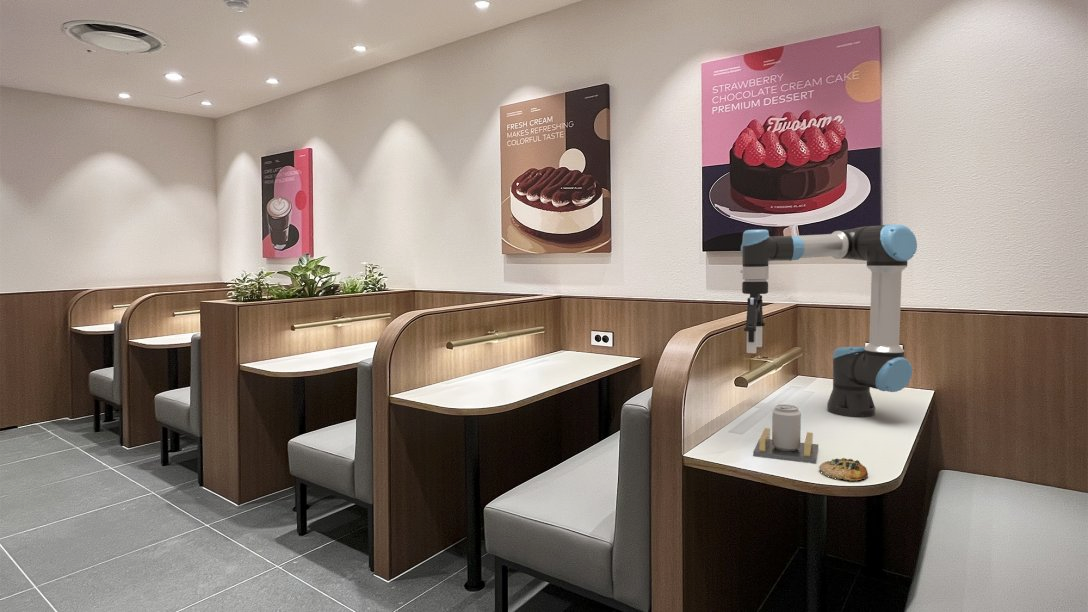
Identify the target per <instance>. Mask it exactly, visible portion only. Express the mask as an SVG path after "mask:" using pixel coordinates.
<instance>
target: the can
mask: <svg viewBox="0 0 1088 612" xmlns="http://www.w3.org/2000/svg"><path fill="white" fill-rule="evenodd" d="M771 415H772V416H771V417H772V418H771V419H772V422H771V423H772V425H771V426H772V428H771V431H772V432H771V433H772V434H771V437H772V438H771V439H772V445H773V446H774V447H775V448H776V449H778V450H782V451H796V450H797V449H798V448H800V443H801V436H802V435H801V430H802V428H801V427H802V424H801V423H802V412H800V410H799V407H798V406H796V405H793V404H776V405H774V409H773V410H772V414H771Z"/></svg>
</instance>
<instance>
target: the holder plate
mask: <svg viewBox="0 0 1088 612" xmlns="http://www.w3.org/2000/svg"><path fill="white" fill-rule="evenodd" d="M813 435H814V434H813V432H808V431H807V432H806V435H805V439H804V442H800V448H798V449H797V450H796V451H782V450H778V449H776V448H775V447H774V446H773V445H772V438H771V428H767V427H764V429H763V431H762V433H761V435H760V437H759V440H758V441H757V443H756V445H755V447H754V450H753V452H752V453H753V455H752V456H753V457H761V458H766V457H767V458H769V459H775V458H777V459H776V460H783V459H784V461H791V460H794V462H800V461H803V462H802V463H808V462H813V463H812V464H817V459H818V454H817V453H819V444H818V443H817V444H816V443H814V441H813V440H814V436H813ZM767 458H766V459H767Z"/></svg>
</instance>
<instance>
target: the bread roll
mask: <svg viewBox="0 0 1088 612" xmlns="http://www.w3.org/2000/svg"><path fill="white" fill-rule="evenodd" d="M818 469H819V471H820V470H821V472H822V474H821V475H823V474H824V475H823V476H825V475H826V476H825V477H827V476H829V477H828V478H830V477H832V478H831V479H833V478H836V479H835V480H837V479H843V480H842V481H847V480H849V481H848V482H852V481H857V482H859V481H858V480H862V479H864V480H865V479H867V478H868V476H869V472H868V469H867V467H865V465H863V464H862V463H861V461H860V460H857V459H856V460H854V459H853V458H848V459H847V458H845V457H843V458H835V459H834V458H832V459H831V460H827V461H824V462H822V463H821V464H820V465H818ZM862 481H863V480H862Z"/></svg>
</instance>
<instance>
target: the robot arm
mask: <svg viewBox="0 0 1088 612" xmlns="http://www.w3.org/2000/svg"><path fill="white" fill-rule="evenodd" d="M917 250H918V241H917V237H916V235H915V234H914V232H913V231H912V230H911V229H910V228H909V227H908V226H906V225H903V224H895V223H894V224H893V223H890V224H882V225H865V226H861V227H860V226H859V227H856V228H851V229H845V230H843V229H842V230H835V231H833V232H832V233H827V234H825V233H824V234H807V235H806V234H805V235H777V236H776V235H775V236H770V233H769V230H768V229H747V230H744V231H743V233H742V242H741V245H740V254H741V257H742V259H741V260H742V269H741V270H740V273H741V274H742V280H744V281H742V282H741V293H742V294H745V295H749V297H748V298H747V301H746V302H747V306H746V307H747V308H746V320H745V321H746V323H745V327H744V328H743V331H744V332H746V354H757V348H762V347H763V327H765V325H766V323H765V322H764V315H763V295H765V294H768V293H769V282H768V281H767V280H769V273H770V272H769V262H772V261H779V262H780V261H783V262H784V261H786V262H787V261H789V262H792V261H798V260H800V259H809V258H826V257H831V258H833V259H834V260H835V259H836V260H842V259H844V260H845V259H846V260H855V261H863V262H865V261H866V268H867V269H868V270H869V271H870V272H871V279H870V280H871V282H870V285H871V286H870V310H869V311H870V312H869V313H870V317H869V340H868V341H869V342H868V345H866V346H846V347H845V346H843V347H841V346H840V347H837V348H835V349H834V350H833V358H832V390H831V392H830V395H829V398H828V401H827V404H826V405H827V406H826V410H827V411H828V412H829V413H832V414H836V415H841V416H847V417H864V418H865V417H871V416H874V415H875V414H876V405H875V404H874V400H873V397H872V394H871V390H870V389H871V388H872V389H875V390H878V391H881V392H890V393H895V392H896V393H897V392H900V391H902V390H903V389H905V387H906V386H907V385H908V384H909V383H910V381H911V379H912V376H913V366H912V363H910V361H909V360H908V359H907V358H906V357H905V349H903V348H902V346H901V345H900V334H901V332H900V331H901V330H900V329H901V326H900V325H901V299H902V273H903V271H904V270H905V269H906V268H908V261H909V260H911V259H912V258H913V257H914V255H915V254H916V252H917Z"/></svg>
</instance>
